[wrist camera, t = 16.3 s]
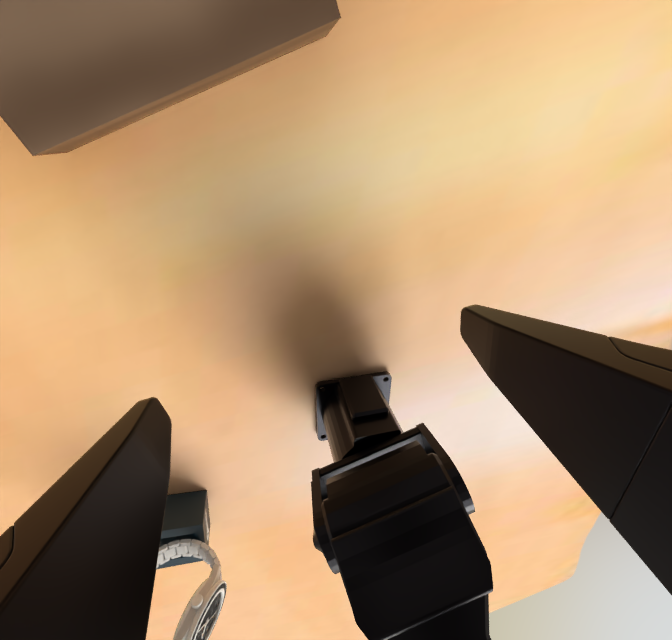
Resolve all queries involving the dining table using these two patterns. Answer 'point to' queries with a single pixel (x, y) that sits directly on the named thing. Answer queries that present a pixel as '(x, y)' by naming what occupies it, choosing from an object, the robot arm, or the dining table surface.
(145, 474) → the robot arm
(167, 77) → the walnut block
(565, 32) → the dining table surface
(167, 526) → the watch
